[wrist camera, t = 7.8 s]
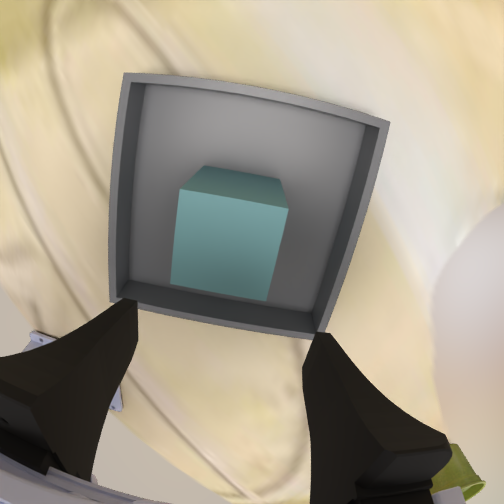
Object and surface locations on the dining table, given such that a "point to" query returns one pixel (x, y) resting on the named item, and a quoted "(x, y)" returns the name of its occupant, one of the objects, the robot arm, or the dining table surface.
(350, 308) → the dining table surface
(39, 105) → the dining table surface
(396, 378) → the dining table surface
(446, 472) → the plant pot
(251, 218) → the teal block
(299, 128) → the tray
